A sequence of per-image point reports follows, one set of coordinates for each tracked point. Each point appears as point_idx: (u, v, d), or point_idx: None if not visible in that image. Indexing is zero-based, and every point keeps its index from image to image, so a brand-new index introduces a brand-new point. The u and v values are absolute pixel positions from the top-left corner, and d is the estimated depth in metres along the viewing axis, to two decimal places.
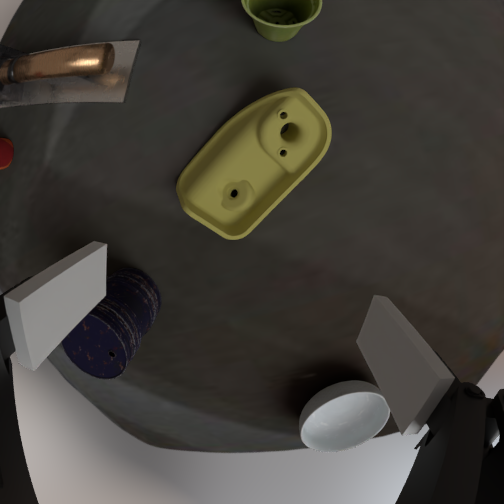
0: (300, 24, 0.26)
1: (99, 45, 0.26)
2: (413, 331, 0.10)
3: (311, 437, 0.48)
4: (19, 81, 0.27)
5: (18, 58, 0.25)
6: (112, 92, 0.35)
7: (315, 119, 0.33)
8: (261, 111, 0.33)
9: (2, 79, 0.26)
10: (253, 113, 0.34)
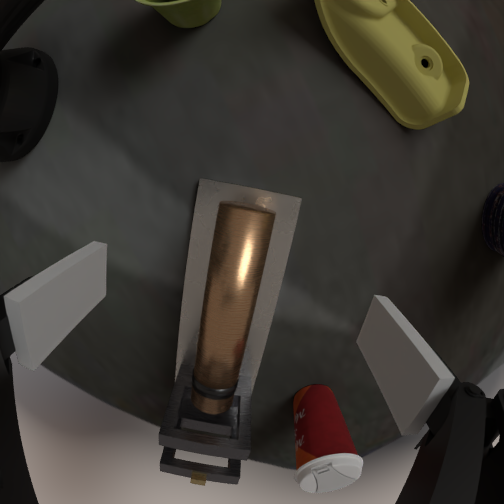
0: None
1: (225, 216, 0.21)
2: (413, 331, 0.10)
3: None
4: (238, 377, 0.27)
5: (199, 382, 0.26)
6: (282, 216, 0.29)
7: None
8: (336, 9, 0.20)
9: (225, 406, 0.27)
10: (336, 21, 0.21)
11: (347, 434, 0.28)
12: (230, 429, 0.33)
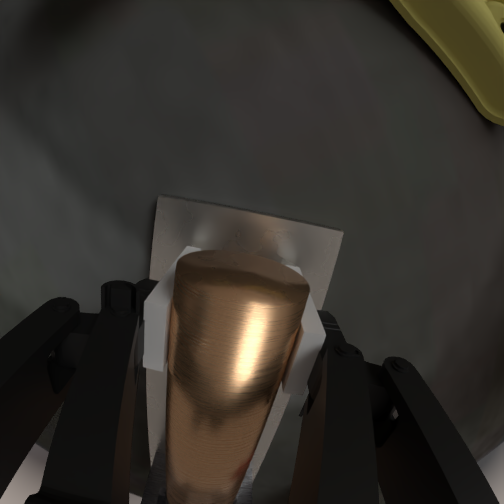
0: None
1: (187, 306, 0.08)
2: None
3: None
4: None
5: None
6: (308, 265, 0.16)
7: None
8: None
9: None
10: None
11: None
12: None
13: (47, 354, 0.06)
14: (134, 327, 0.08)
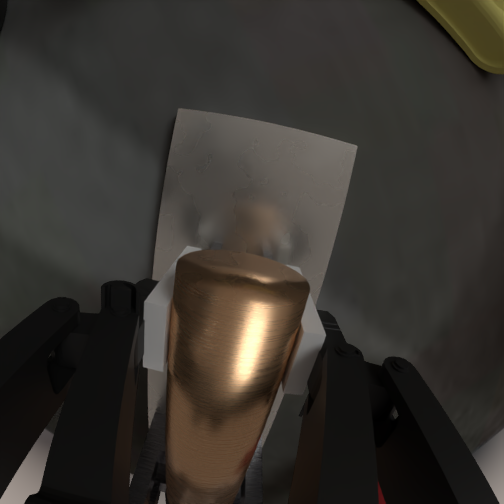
0: None
1: (187, 306, 0.08)
2: None
3: None
4: None
5: None
6: (324, 176, 0.16)
7: None
8: None
9: None
10: None
11: None
12: None
13: (47, 354, 0.06)
14: (134, 327, 0.08)
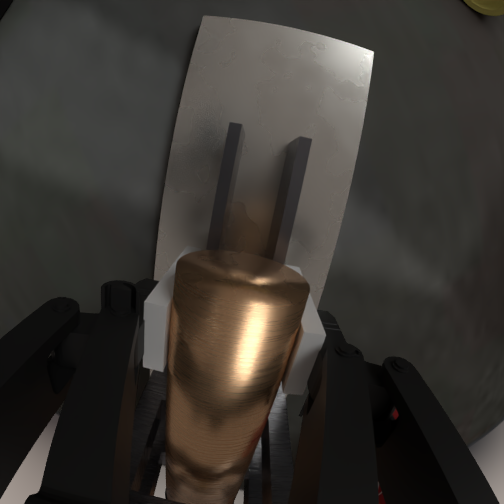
0: None
1: (187, 306, 0.08)
2: None
3: None
4: None
5: None
6: (345, 74, 0.14)
7: None
8: None
9: None
10: None
11: None
12: None
13: (47, 353, 0.06)
14: (134, 327, 0.08)
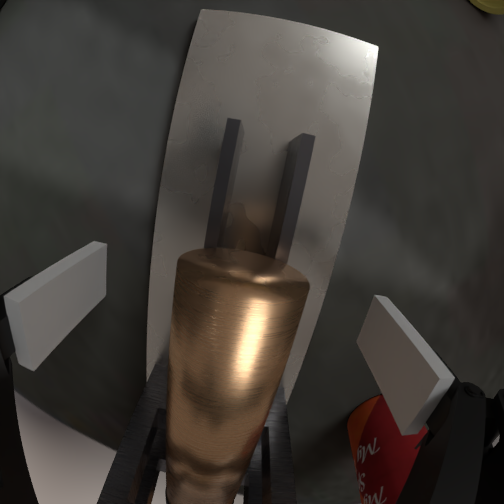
0: None
1: (188, 303, 0.08)
2: (413, 331, 0.10)
3: None
4: None
5: None
6: (349, 69, 0.13)
7: None
8: None
9: None
10: None
11: None
12: (245, 477, 0.17)
13: None
14: None
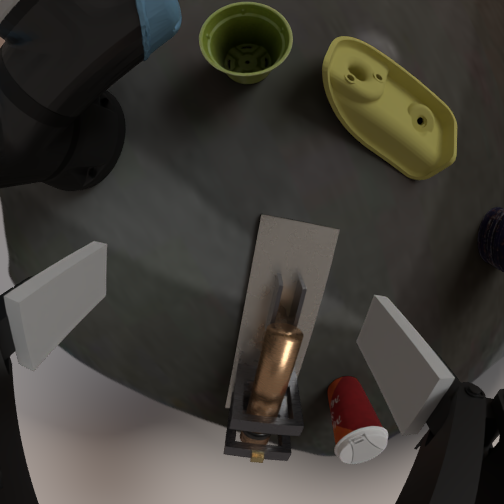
0: (285, 21, 0.23)
1: (272, 342, 0.32)
2: (413, 331, 0.10)
3: None
4: None
5: None
6: (324, 244, 0.37)
7: (337, 51, 0.28)
8: (346, 102, 0.30)
9: (265, 443, 0.37)
10: (348, 111, 0.31)
11: (374, 413, 0.35)
12: (278, 416, 0.41)
13: None
14: None
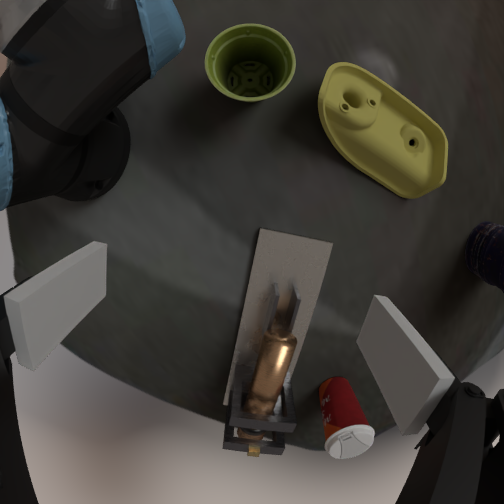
0: (289, 45, 0.26)
1: (268, 348, 0.35)
2: (413, 331, 0.10)
3: None
4: None
5: None
6: (318, 256, 0.40)
7: (332, 78, 0.30)
8: (341, 130, 0.32)
9: (260, 438, 0.41)
10: (342, 138, 0.34)
11: (362, 412, 0.38)
12: (272, 413, 0.44)
13: None
14: None
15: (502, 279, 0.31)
